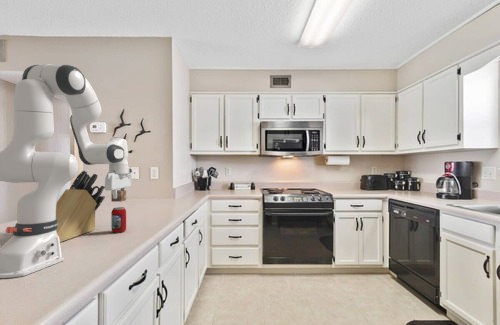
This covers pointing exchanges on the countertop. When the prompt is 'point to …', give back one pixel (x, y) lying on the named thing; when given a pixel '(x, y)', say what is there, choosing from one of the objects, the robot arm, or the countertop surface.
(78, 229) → the knife block
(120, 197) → the walnut block
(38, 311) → the countertop surface
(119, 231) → the beverage can
